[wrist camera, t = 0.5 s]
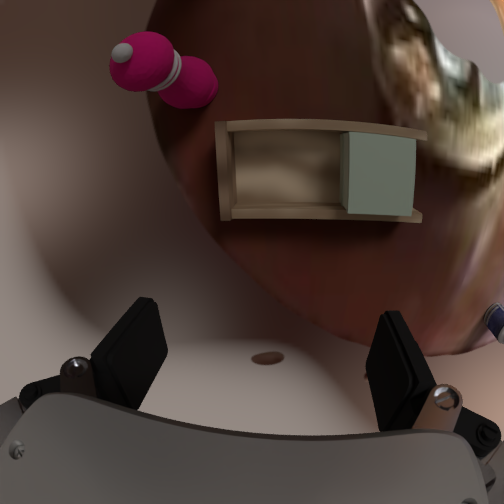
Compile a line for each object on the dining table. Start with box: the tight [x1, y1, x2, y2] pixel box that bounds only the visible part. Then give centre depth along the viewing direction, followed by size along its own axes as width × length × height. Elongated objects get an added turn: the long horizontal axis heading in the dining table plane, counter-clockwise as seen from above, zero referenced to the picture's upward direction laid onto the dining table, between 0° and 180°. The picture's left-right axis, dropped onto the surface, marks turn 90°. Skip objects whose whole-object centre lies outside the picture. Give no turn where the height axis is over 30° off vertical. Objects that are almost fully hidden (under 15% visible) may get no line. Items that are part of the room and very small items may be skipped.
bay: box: [215, 119, 427, 223], centre depth 32 cm, size 12×26×6 cm, turn 92°
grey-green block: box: [339, 132, 416, 216], centre depth 30 cm, size 9×8×6 cm
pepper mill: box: [109, 31, 218, 109], centre depth 23 cm, size 7×7×20 cm
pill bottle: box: [484, 303, 504, 344], centre depth 35 cm, size 6×6×10 cm
